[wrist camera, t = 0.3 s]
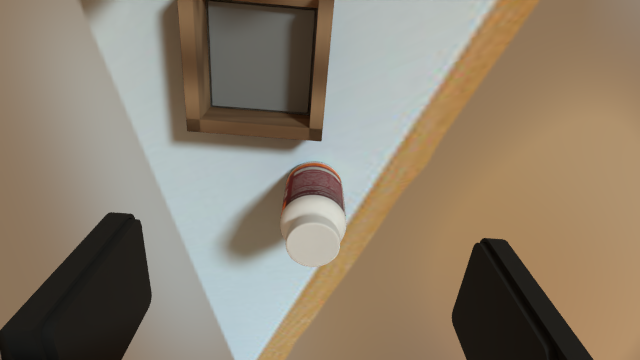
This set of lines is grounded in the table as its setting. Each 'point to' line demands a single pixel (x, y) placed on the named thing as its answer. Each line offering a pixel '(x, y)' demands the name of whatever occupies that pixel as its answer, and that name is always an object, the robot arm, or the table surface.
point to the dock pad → (260, 56)
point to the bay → (241, 120)
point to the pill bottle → (313, 214)
